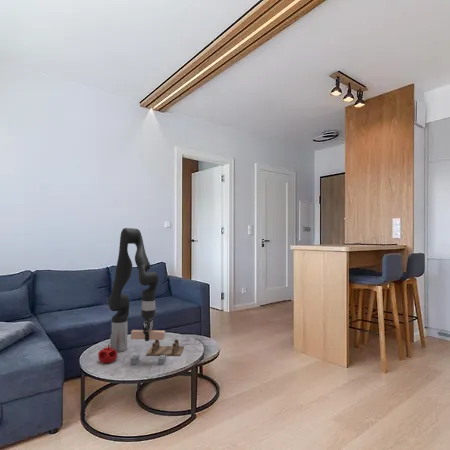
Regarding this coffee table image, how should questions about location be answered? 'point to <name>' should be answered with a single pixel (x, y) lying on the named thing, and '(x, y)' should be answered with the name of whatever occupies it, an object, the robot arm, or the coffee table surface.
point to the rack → (165, 349)
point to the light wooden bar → (152, 334)
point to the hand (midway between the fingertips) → (147, 339)
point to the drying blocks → (160, 360)
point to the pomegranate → (107, 355)
